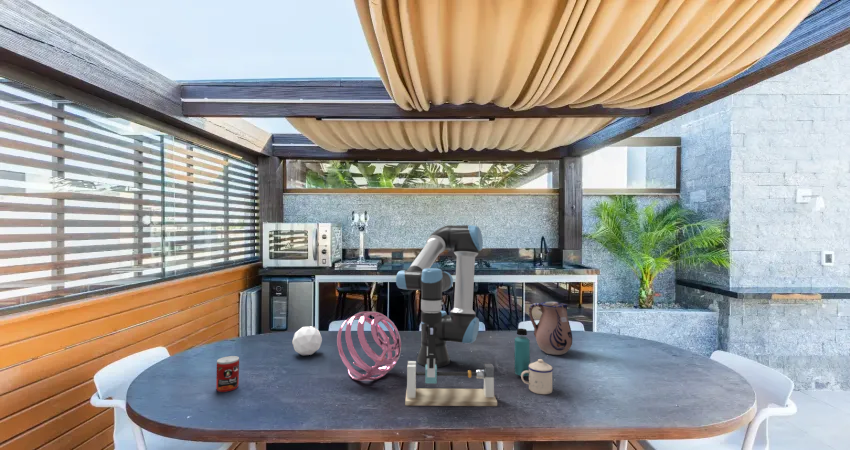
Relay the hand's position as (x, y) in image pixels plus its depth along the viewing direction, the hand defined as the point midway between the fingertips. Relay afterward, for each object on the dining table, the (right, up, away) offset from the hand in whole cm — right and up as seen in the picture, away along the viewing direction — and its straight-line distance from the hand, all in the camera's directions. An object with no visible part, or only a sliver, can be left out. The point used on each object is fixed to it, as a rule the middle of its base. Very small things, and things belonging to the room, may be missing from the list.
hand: (430, 370), depth 137 cm
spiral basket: (-25, -11, +20) cm, 34 cm away
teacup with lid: (+41, -11, +9) cm, 43 cm away
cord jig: (+7, -10, 0) cm, 12 cm away
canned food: (-78, -10, +8) cm, 79 cm away
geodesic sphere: (-60, -11, +50) cm, 79 cm away
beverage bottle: (+39, -11, +22) cm, 46 cm away
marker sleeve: (0, -4, 0) cm, 4 cm away
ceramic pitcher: (+62, -13, +56) cm, 84 cm away
